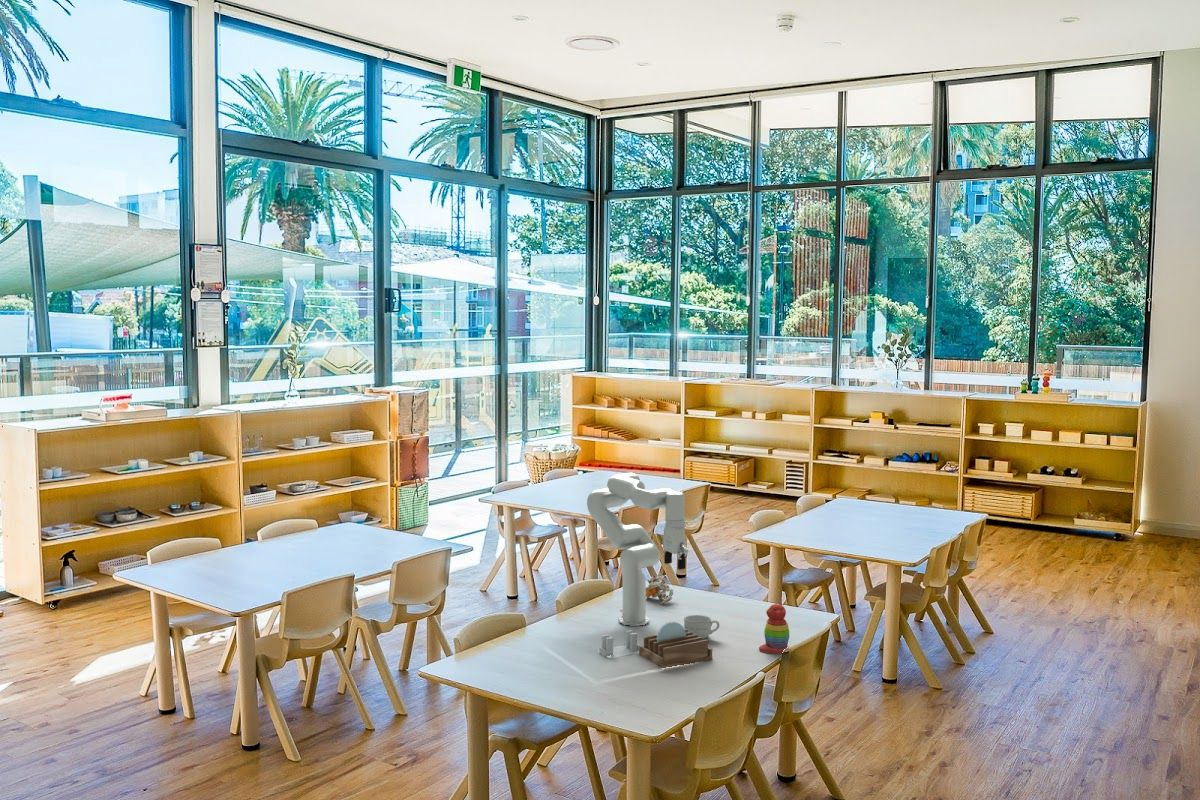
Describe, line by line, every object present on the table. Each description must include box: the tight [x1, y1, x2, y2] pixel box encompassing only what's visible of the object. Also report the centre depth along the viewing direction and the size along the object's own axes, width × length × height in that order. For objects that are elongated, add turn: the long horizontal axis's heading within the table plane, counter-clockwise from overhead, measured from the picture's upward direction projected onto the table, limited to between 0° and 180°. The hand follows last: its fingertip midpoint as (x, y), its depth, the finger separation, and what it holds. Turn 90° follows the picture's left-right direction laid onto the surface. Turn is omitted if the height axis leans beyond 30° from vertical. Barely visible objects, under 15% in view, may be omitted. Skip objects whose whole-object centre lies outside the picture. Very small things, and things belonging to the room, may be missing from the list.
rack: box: [638, 629, 713, 668], centre depth 378 cm, size 16×22×7 cm
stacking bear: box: [758, 602, 790, 655], centre depth 386 cm, size 11×10×18 cm
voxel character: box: [646, 572, 674, 605], centre depth 449 cm, size 11×10×15 cm
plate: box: [656, 621, 686, 642], centre depth 379 cm, size 1×12×12 cm, turn 118°
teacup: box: [683, 614, 720, 640], centre depth 400 cm, size 14×11×8 cm
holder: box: [598, 629, 641, 659], centre depth 383 cm, size 10×15×8 cm, turn 119°
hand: (674, 566), depth 400 cm, fingers open, 9 cm apart
